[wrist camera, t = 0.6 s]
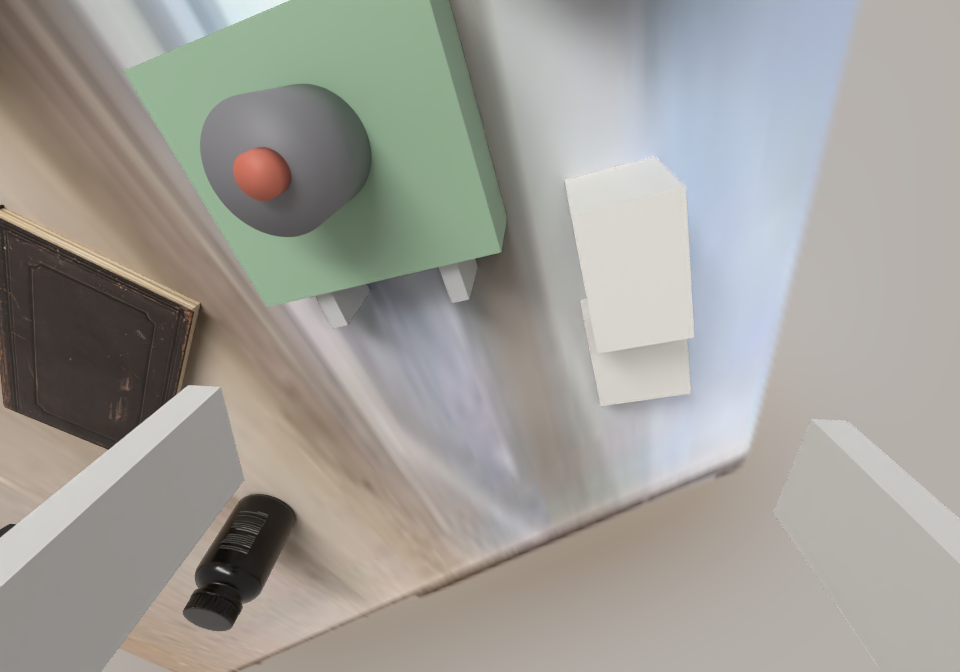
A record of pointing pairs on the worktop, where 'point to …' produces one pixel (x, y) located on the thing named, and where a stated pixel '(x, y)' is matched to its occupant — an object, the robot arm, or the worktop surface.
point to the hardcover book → (85, 335)
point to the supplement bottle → (239, 561)
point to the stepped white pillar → (634, 279)
